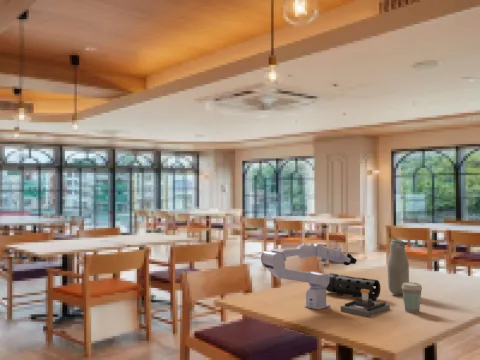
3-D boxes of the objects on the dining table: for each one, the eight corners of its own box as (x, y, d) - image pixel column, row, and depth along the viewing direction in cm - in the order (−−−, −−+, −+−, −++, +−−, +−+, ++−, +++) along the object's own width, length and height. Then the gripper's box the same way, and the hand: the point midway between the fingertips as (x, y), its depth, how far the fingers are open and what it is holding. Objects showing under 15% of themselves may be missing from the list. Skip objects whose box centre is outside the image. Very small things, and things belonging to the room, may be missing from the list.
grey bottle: (412, 294, 233) (410, 239, 233) (404, 298, 225) (403, 241, 226) (393, 291, 239) (392, 238, 240) (384, 295, 232) (383, 239, 232)
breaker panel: (368, 317, 193) (368, 304, 193) (340, 311, 203) (340, 299, 203) (389, 308, 205) (389, 297, 206) (362, 303, 215) (362, 292, 216)
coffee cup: (420, 315, 195) (420, 286, 195) (399, 312, 200) (399, 284, 200) (424, 310, 202) (423, 283, 203) (404, 307, 207) (403, 281, 207)
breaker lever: (367, 300, 202) (367, 290, 203) (360, 299, 205) (360, 289, 205) (369, 300, 204) (369, 289, 204) (363, 298, 206) (363, 288, 206)
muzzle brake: (372, 302, 217) (371, 280, 218) (321, 294, 236) (321, 274, 236) (381, 299, 225) (380, 277, 225) (331, 291, 243) (330, 271, 243)
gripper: (343, 249, 210) (363, 255, 217) (322, 242, 223) (342, 247, 230) (338, 264, 210) (359, 269, 217) (318, 256, 222) (338, 261, 229)
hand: (350, 259), depth 223 cm, fingers open, 7 cm apart
